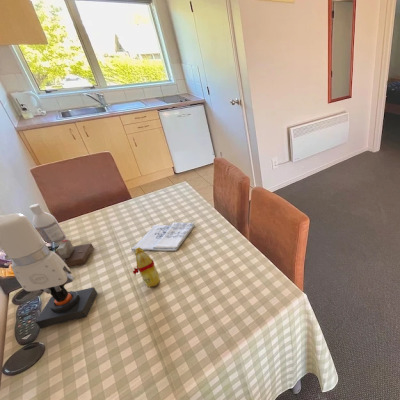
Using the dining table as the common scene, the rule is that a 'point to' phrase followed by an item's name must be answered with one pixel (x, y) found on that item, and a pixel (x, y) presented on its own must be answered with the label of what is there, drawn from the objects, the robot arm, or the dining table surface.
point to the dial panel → (78, 255)
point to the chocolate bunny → (146, 268)
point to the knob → (65, 249)
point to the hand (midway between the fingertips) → (63, 297)
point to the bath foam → (47, 225)
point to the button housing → (67, 308)
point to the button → (64, 300)
